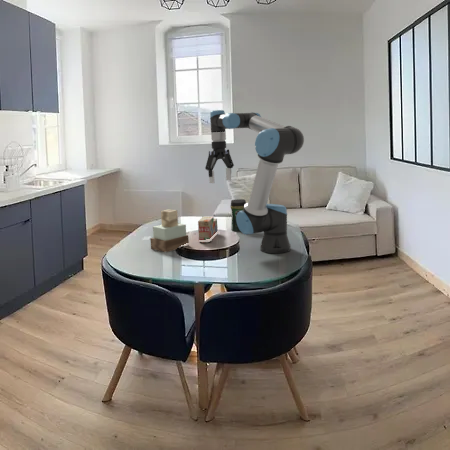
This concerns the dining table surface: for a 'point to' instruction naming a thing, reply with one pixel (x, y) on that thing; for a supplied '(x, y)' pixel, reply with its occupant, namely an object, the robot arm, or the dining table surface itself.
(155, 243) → the tower base
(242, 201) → the coffee jar
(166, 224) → the maple block
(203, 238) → the printed cardboard box
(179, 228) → the tower top
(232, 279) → the dining table surface
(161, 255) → the dining table surface
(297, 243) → the dining table surface
